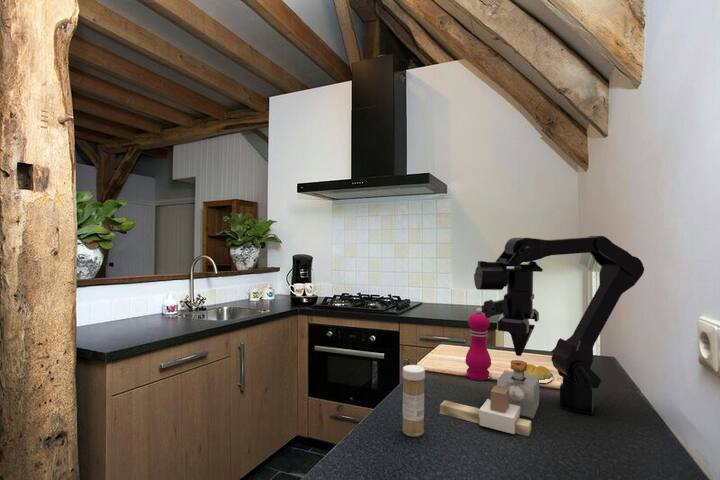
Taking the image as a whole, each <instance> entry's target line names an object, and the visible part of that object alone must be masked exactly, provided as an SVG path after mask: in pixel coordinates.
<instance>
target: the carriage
mask: <svg viewBox="0 0 720 480" xmlns="http://www.w3.org/2000/svg"><path fill="white" fill-rule="evenodd" d="M519 414H520V406H517V405H512V404H509V388H506V387H501V386H497V384H496V385H494V386H493V387H492V389H491V390H490V399H489V398H487V399H486V400H485V402H484V403H483V405H481V407H480V408H479V417H480V424H479V426H482V427H485V428H488V429H493V430H496V431H500V432H504V433H508V434H511V435H515V434H516V433H515V422H516V420H517V418H520V415H519Z"/></svg>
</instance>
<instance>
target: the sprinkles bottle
mask: <svg viewBox="0 0 720 480" xmlns="http://www.w3.org/2000/svg"><path fill="white" fill-rule="evenodd" d="M425 378H426V369H425V367H423V366H421V365H417V364H408V365H404V366H403V367H402V379H403V380H402V382H403V384H402V385H403V386H402V429H401V430H402V432H403V434H405V436H408V437H413V438H414V437H415V438H416V437H421V436H422V435H424V433H425V428H424V419H425Z"/></svg>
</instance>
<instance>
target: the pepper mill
mask: <svg viewBox="0 0 720 480" xmlns="http://www.w3.org/2000/svg"><path fill="white" fill-rule="evenodd" d="M467 320H468V321H467V323H468V326H469V327H470V329H469V335H470V336H471V341H470V347H469V348H468V351H467V352H466V355H465V360H464V361H465V364H466V366H467V367H468V368H467V369H466V376H467V377H468V378H469V379H472V380H476V381H477V380H478V381H487V380H489V378H490V370H489V368H490V367H491V365H492V359H491V355H490V353H489V350H488V348H487V337H488V335H489V334H488V332H489V331H488V328H489V327H490V326H491V325H490V324H491V322H490V319H489V318H486V317H485V314H484V313H482V307H481V308H480V307H477V308H476V309H475V313H472V314H471V315H469V318H468V319H467ZM488 377H489V378H488Z"/></svg>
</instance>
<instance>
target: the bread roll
mask: <svg viewBox="0 0 720 480" xmlns="http://www.w3.org/2000/svg"><path fill="white" fill-rule="evenodd" d="M524 374H527V375H533V376H538V377H539V380H545V379H550V378H551V377H553V378H554V374H553V373H552V371H551V370H550V369H549V368H547V367H546V366H543V365H538V366H536V365H534V364H532V363H527V370H526V371H524Z"/></svg>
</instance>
